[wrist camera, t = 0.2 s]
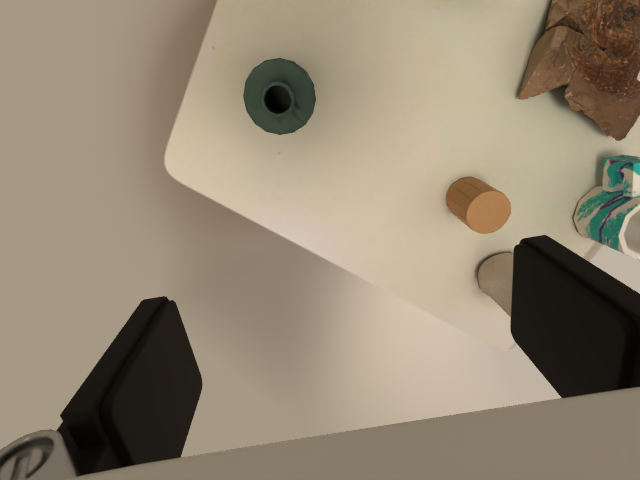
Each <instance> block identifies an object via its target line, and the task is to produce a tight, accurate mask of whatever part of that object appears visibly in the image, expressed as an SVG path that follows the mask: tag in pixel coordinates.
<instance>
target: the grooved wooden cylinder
mask: <svg viewBox="0 0 640 480" xmlns="http://www.w3.org/2000/svg"><path fill="white" fill-rule="evenodd" d="M446 200H447V206H448V208H449V209H450V210H451V212H452V213H453V214H454V215H455V216H457V217H458V218H459V219H460V220H461V221H462V222H463V223H465V224H466V225H467V226H468V227H469V228H470V229H472V230H474V231H476V232H478V233H484V234H486V233H492V232H494V231H496V230H498V229H500V228H501V227H502V226H503V225H504V224H505V223H506V222H507V220H508V218H509V216H510V212H511V206H510V202H509V200H508V198H507V197H506V196H505V195H504V194H503V193H502V192H500V191H498V190H496V189H494V188H493V187H491V186H489V185H487V184H485V183H484V182H482V181H480V180H478V179H475V178H473V177H467V178H461V179H459V180H458V181H457V182H455V183H454V184H452V186H451V187H450V189H449V191H448V193H447V195H446Z"/></svg>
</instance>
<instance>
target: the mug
mask: <svg viewBox="0 0 640 480" xmlns="http://www.w3.org/2000/svg"><path fill="white" fill-rule="evenodd" d="M573 219H574V221H575V224H576V227H577V229H578V232H579V234H582V235H584V236H586V237H588V238H590V239H592V240H594V241H597V242H599V243H601V244H604V245H606V246H608V247H610V248H613V249H615V250H617V251H620V252H622V253H624V254H626V255H629V256H631V257H633V258H636V259H638V260H640V157H635V156H628V155H619V156H614V157H610V158H605V159H603V186H599V187H594V188H593V189H592V190H591V191H589V192H588V193H587V194H586V195H585V196H584V197H583V198H582V199H581V200H580V201H579V203H578V206H577V209H576V212H575V215H574V218H573Z"/></svg>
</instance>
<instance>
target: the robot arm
mask: <svg viewBox="0 0 640 480" xmlns="http://www.w3.org/2000/svg"><path fill="white" fill-rule="evenodd" d="M511 333H512V336H513V338H514V340H515V342H516V343H517V344H518V345H519V347H520V348H521V349H522V350H523V351H524V353H525V354H526V355H527V356H528V357H529V359H530V360H531V361H532V362H533V363H534V365H535V366H536V367H537V368H538V370H539V371H540V372H541V373H542V374H543V375H544V377H545V378H546V379H547V380H548V382H549V383H550V384H551V385H552V386H553V388H554V389H555V390H556V391H557V393H558V394H559V395H560V396H561V397H562V398H561V399H554V400H548V401H541V402H534V403H528V404H522V405H515V406H507V407H501V408H494V409H488V410H482V411H475V412H469V413H462V414H456V415H449V416H443V417H436V418H430V419H424V420H417V421H411V422H405V423H398V424H391V425H385V426H378V427H372V428H367V429H359V430H353V431H346V432H340V433H334V434H327V435H320V436H314V437H308V438H301V439H294V440H288V441H281V442H275V443H269V444H262V445H256V446H250V447H244V448H237V449H231V450H225V451H219V452H213V453H206V454H200V455H194V456H188V457H181V454H182V451H183V448H184V444H185V441H186V438H187V435H188V432H189V429H190V425H191V422H192V419H193V416H194V413H195V410H196V406H197V403H198V400H199V397H200V394H201V390H202V378H201V374H200V372H199V369H198V366H197V363H196V360H195V357H194V354H193V351H192V348H191V345H190V343H189V340H188V337H187V334H186V331H185V328H184V325H183V322H182V320H181V317H180V314H179V311H178V308H177V305H176V303H175V302H174V301H173V300H172V301H169V300H168V298H167V297H164V296H163V297H157V298H151V299H145V300H143V301H141V303H140V304H139V306H138V307H137V308H136V310H135V311H134V313H133V314H132V315H131V317H130V318H129V320H128V321H127V322H126V324H125V325H124V327H123V328H122V329H121V331H120V332H119V334H118V335H117V336H116V338H115V339H114V341H113V342H112V343H111V345H110V346H109V348H108V349H107V350H106V352H105V353H104V355H103V356H102V357H101V359H100V360H99V362H98V363H97V364H96V366H95V367H94V369H93V370H92V372H91V373H90V374H89V376H88V377H87V378H86V380H85V381H84V383H83V384H82V386H81V387H80V388H79V390H78V391H77V392H76V394H75V395H74V396H73V398H72V399H71V401H70V402H69V404H68V405H67V406H66V408H65V409H64V410H63V412H62V414H61V415H60V416H61V418H62V420H63V422H62V424H61V425H60V427H59V428H58V429H57V431H54V430H51V429H50V430H40V431H37V432H34V433H31V434H27V435H25V436H23V437H21V438H19V439H17V440H15V441H14V442H12V443H10V444H9V445H7V446H6V447H4V448H3V449H1V450H0V480H640V294H639V293H638V292H636V291H634V290H632V289H631V288H630V287H628V286H626V285H625V284H623V283H621V282H620V281H618V280H617V279H615V278H614V277H612V276H610V275H609V274H607V273H606V272H604V271H602V270H601V269H599V268H598V267H596V266H595V265H593V264H591V263H590V262H588V261H587V260H585V259H583V258H582V257H580V256H579V255H577V254H575V253H574V252H572V251H571V250H569V249H567V248H566V247H564V246H563V245H561V244H559V243H558V242H556V241H555V240H553V239H552V238H550V237H548V236H546V235H543V236H536V237H530V238H524V239H522V240H521V241H520V243H519V245H516V246H515V248H514V254H513V279H512V303H511ZM180 457H181V458H180Z"/></svg>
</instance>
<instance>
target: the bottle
mask: <svg viewBox="0 0 640 480" xmlns="http://www.w3.org/2000/svg"><path fill="white" fill-rule="evenodd" d="M244 101H245V106H246V110H247V112H248V114H249V115H250V117H251V118H252V120H253V121H254V123H255V124H256V125H258V126H259V127H261V128H262V129H263V130H265V131H267V132H270V133H274V134H278V135H282V134H288V133H293V132H295V131H296V130H298V129H299V128H301V127H303V126H304V125H305V124H306V122H307V121H308V120H309V118H310V117H311V115H312V114H313V110H314V105H315V101H316V97H315V90H314V84H313V82H312V81H311V79H310V77H309V75H308V74H307V72H306V71H305V70H304V69H303V68H301V67H300V66H299V65H298V64H296V63H295V62H293V61H289V60H285V59H282V58H277V59H271V60H266V61H264V62H263V63H261V64H260V65H258V66H257V67H255V68H254V69H253V70H252V72H251V74H250V75H249V77H248V79H247V80H246V83H245V89H244Z"/></svg>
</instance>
